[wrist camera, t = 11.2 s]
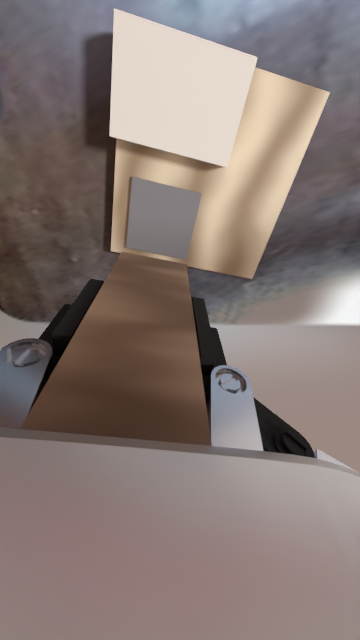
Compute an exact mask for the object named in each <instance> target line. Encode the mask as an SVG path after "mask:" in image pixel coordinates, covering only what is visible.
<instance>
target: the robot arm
mask: <svg viewBox="0 0 360 640" xmlns="http://www.w3.org/2000/svg"><path fill="white" fill-rule="evenodd" d="M103 283H104V281H101V280H95V279H90V280H89V282H88V283H87V285H86V286H85V287H84V289H83V290H82V292H81V293H80V294H79V296H78V297H77V299H76V300H75V302H74V303H73V304H72V305H70V304H65V305H64V306H63V307H62V309H61V310H60V311H59V313H58V314H57V315H56V316H55V318H54V319H53V320H52V322H51V323H50V324H49V326H48V327H47V328H46V330H45V331H44V332H43V334H42V335H41V336H40V337H39V339H34V338H33V339H22V340H17V341H15V342H12V343H10V344H8V345H6V346H5V347H3V348H2V350H1V351H0V640H360V473H359V472H357V471H355V470H353V469H352V468H350V467H348V466H346V465H345V464H343V463H341V462H339V461H338V460H336V459H334V458H332V457H331V456H329V455H327V454H325V453H324V452H322V451H320V450H318V449H317V450H316V451H313V450H312V448H311V446H310V444H309V443H308V442H307V440H306V439H305V438H304V437H303V436H302V435H301V434H300V433H299V432H297V431H296V430H295V429H293V428H292V427H291V426H290V425H288V424H287V423H286V422H284V421H283V420H281V418H279V417H278V416H277V415H275V414H274V413H272V411H270V410H269V409H268V408H266V407H265V406H264V405H262V404H261V403H260V402H259V401H257V400H256V399H255V398H254V397H253V393H252V388H251V384H250V381H249V379H248V378H247V376H246V375H245V374H244V373H242V372H241V371H240V370H238V369H236V368H234V367H231V366H227V364H226V360H225V357H224V353H223V349H222V345H221V342H220V338H219V334H218V331H217V329H216V328H211V327H210V324H209V320H208V316H207V311H206V307H205V302H204V299H201V298H195V297H191V300H192V307H193V314H194V322H195V329H196V336H197V343H198V350H199V357H200V365H201V372H202V379H203V386H204V393H205V400H206V408H207V415H208V422H209V429H210V436H211V444H212V446H207V445H196V444H185V443H175V442H164V441H152V440H141V439H130V438H119V437H107V436H96V435H84V434H73V433H61V432H49V431H37V430H25V429H20V428H21V427H22V425H23V423H24V421H25V420H26V418H27V416H28V414H29V413H30V411H31V409H32V407H33V406H34V404H35V402H36V400H37V399H38V397H39V395H40V393H41V392H42V390H43V388H44V386H45V385H46V383H47V381H48V379H49V378H50V376H51V374H52V372H53V371H54V369H55V367H56V365H57V364H58V362H59V360H60V358H61V357H62V355H63V353H64V351H65V350H66V348H67V346H68V344H69V343H70V341H71V339H72V337H73V336H74V334H75V332H76V330H77V329H78V327H79V325H80V323H81V322H82V320H83V318H84V316H85V315H86V313H87V311H88V309H89V308H90V306H91V304H92V302H93V301H94V299H95V297H96V295H97V294H98V292H99V290H100V288H101V287H102V285H103Z"/></svg>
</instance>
